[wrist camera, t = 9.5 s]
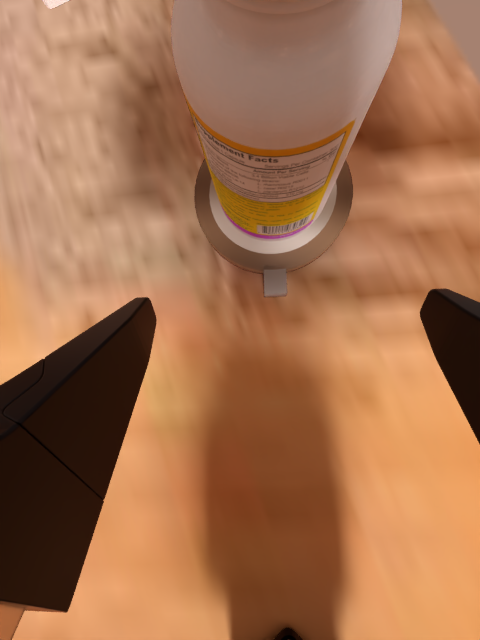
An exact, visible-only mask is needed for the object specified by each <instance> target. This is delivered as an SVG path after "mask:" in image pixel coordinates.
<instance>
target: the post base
mask: <svg viewBox="0 0 480 640" xmlns="http://www.w3.org/2000/svg"><path fill="white" fill-rule="evenodd" d="M352 198H353V184H352V177H351V173H350V169H349V166H348V164H347V162H346V160H345V162H344V164H343V166H342V168H341V171H340V173H339V175H338V177H337V180H336V182H335V184H334V186H333V188H332V191H331V193H330V195H329V197H328V199H327V202H326V204H325V206H324V208H323V210H322V212H321V213H320V215H319V216H318V218H317V219H316V220H315V222H314V223H313V224H312V225H311V226H310V227H308V228H307V229H306V230H305V231H303V232H302V233H300V234H298V235H296V236H294V237H292V238H289V239H286V240H281V241H261V240H257V239H254V238H251V237H249V236H247V235H245V234H243V233H241V232H240V231H238V230H237V229H236V228H235V227H234V226H233V225H232V224H231V223H230V222H229V220H228V219H227V217H226V216H225V214H224V212H223V210H222V207H221V205H220V202H219V199H218V196H217V193H216V190H215V187H214V184H213V180H212V177H211V174H210V171H209V168H208V165H207V162H206V159H204V161H203V163H202V165H201V168H200V170H199V173H198V176H197V180H196V185H195V208H196V213H197V217H198V220H199V223H200V225H201V227H202V229H203V231H204V233H205V235H206V237H207V238H208V240H209V242H210V243H211V245H212V246H213V247H214V249H215V250H216V251H217V252H218V253H219V254H220V255H221V256H222V257H223V258H225V259H226V260H227V261H228V262H230V263H232V264H233V265H235V266H237V267H239V268H242V269H244V270H247V271H250V272H254V273H260V274H264V297H275V296H286V294H287V276H286V272H290V271H294V270H297V269H299V268H302V267H304V266H306V265H308V264H310V263H311V262H313V261H314V260H316V259H317V258H318V257H320V256H321V255H322V254H323V253H324V252H325V251H326V250H327V249H328V248H329V247H330V246H331V244H332V243H333V242H334V241H335V239H336V238H337V236H338V235H339V233H340V232H341V230H342V229H343V227H344V225H345V223H346V221H347V218H348V216H349V212H350V209H351V204H352Z"/></svg>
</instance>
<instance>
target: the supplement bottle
mask: <svg viewBox="0 0 480 640" xmlns="http://www.w3.org/2000/svg"><path fill="white" fill-rule="evenodd" d="M401 15H402V0H174V6H173V12H172V21H171V40H172V51H173V57H174V62H175V66H176V70H177V73H178V77H179V80H180V83H181V86H182V90H183V93H184V96H185V99H186V102H187V105H188V108H189V111H190V113H191V116H192V119H193V122H194V125H195V128H196V131H197V134H198V137H199V140H200V143H201V147H202V149H203V153H204V156H205V159H206V162H207V165H208V168H209V171H210V174H211V177H212V180H213V184H214V187H215V190H216V193H217V196H218V199H219V202H220V205H221V207H222V210H223V212H224V214H225V216H226V217H227V219H228V220H229V222H230V223H231V224H232V225H233V226H234V227H235V228H236V229H237V230H238V231H240V232H241V233H243V234H245V235H247V236H249V237H251V238H254V239H257V240H261V241H281V240H286V239H289V238H292V237H294V236H296V235H298V234H300V233H302V232H303V231H305V230H306V229H307V228H308V227H310V226H311V225H312V224H313V223H314V222H315V220H316V219H317V218H318V216H319V215H320V213H321V212H322V210H323V208H324V206H325V204H326V202H327V199H328V197H329V195H330V193H331V191H332V188H333V186H334V184H335V182H336V180H337V177H338V175H339V173H340V171H341V168H342V166H343V164H344V162H345V160H346V157H347V155H348V153H349V151H350V149H351V146H352V144H353V142H354V140H355V138H356V135H357V133H358V131H359V129H360V127H361V124H362V122H363V120H364V118H365V116H366V114H367V111H368V109H369V107H370V105H371V103H372V101H373V99H374V97H375V95H376V92H377V90H378V88H379V86H380V84H381V82H382V80H383V77H384V75H385V73H386V71H387V69H388V67H389V64H390V61H391V59H392V56H393V54H394V51H395V48H396V44H397V40H398V36H399V31H400V24H401Z"/></svg>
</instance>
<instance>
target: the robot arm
mask: <svg viewBox="0 0 480 640" xmlns="http://www.w3.org/2000/svg"><path fill="white" fill-rule="evenodd" d="M420 317H421V320H422V323H423V326H424V329H425V331H426V334H427V337H428V339H429V342H430V345H431V348H432V350H433V353H434V355H435V358H436V360H437V362H438V364H439V366H440V368H441V370H442V372H443V374H444V376H445V377H446V379H447V381H448V383H449V385H450V387H451V389H452V391H453V393H454V395H455V397H456V399H457V401H458V403H459V405H460V407H461V409H462V411H463V413H464V415H465V416H466V418H467V420H468V422H469V424H470V426H471V428H472V430H473V432H474V434H475V436H476V438H477V440H478V442H479V444H480V302H477V301H475V300H472V299H470V298H468V297H465V296H463V295H461V294H458V293H456V292H453V291H451V290H449V289H432V290H430V291H429V293H428V295H427V297H426V299H425V301H424V303H423V306H422V308H421V310H420ZM155 327H156V315H155V312H154V309H153V306H152V303H151V300H150V299H149V298H148V297H142V298H135V299H134V300H132V301H130V302H129V303H127V304H126V305H124V306H123V307H121V308H120V309H118V310H117V311H115V312H114V313H112V314H111V315H109V316H108V317H106V318H104V319H103V320H101V321H100V322H98V323H97V324H95V325H94V326H92V327H91V328H89V329H88V330H86V331H85V332H83V333H82V334H80V335H78V336H77V337H75V338H74V339H72V340H71V341H69V342H68V343H66V344H65V345H63V346H62V347H60V348H59V349H57V350H55V351H54V352H52V353H51V354H49V355H48V356H46V357H45V359H42V360H40V361H39V362H37V363H36V364H34V365H32V366H31V367H29V368H28V369H26V370H25V371H23V372H21V373H20V374H18V375H17V376H15V377H14V378H12V379H10V380H9V381H7V382H5V383H4V384H2V385H0V640H12V638H13V636H14V633H15V631H16V629H17V627H18V624H19V622H20V620H21V617H22V615H23V613H24V611H25V610H26V611H47V612H67V611H68V609H69V607H70V604H71V601H72V598H73V595H74V592H75V589H76V586H77V583H78V580H79V577H80V574H81V571H82V567H83V564H84V561H85V558H86V555H87V552H88V549H89V546H90V543H91V540H92V537H93V533H94V530H95V527H96V524H97V521H98V518H99V515H100V512H101V509H102V506H103V503H104V501H103V500H104V499H105V496H106V493H107V490H108V486H109V483H110V480H111V477H112V474H113V471H114V468H115V465H116V462H117V459H118V456H119V452H120V449H121V446H122V443H123V440H124V437H125V434H126V431H127V428H128V425H129V422H130V418H131V415H132V412H133V409H134V406H135V403H136V400H137V397H138V394H139V391H140V387H141V384H142V381H143V378H144V375H145V372H146V369H147V366H148V362H149V358H150V354H151V348H152V343H153V338H154V333H155ZM288 639H289V640H302V638H301V637H300V636H299V635H298V634H297V633H296V632H295V631H294V630H293V629H291V628H285V629H283V630H282V631H281V632H280V633H279V634H278V635H277V636H276V637H275V639H274V640H288Z"/></svg>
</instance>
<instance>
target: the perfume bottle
mask: <svg viewBox="0 0 480 640" xmlns="http://www.w3.org/2000/svg"><path fill="white" fill-rule="evenodd" d="M42 1H43V2H44V3H45V5H46V6H47V7H48V8H49V9H52V8H55V7H57V6H59V5H61V4H63V3H65V2H67V1H69V0H42Z"/></svg>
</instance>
